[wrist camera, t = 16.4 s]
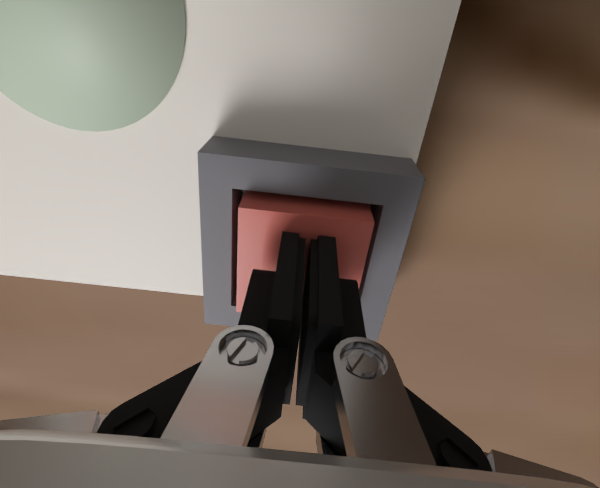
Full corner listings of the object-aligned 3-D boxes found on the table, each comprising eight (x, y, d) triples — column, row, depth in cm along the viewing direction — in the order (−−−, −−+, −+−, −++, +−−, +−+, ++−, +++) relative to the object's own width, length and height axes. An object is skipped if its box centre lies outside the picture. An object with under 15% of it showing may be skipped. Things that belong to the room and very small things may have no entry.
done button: (245, 277, 14) (236, 311, 13) (248, 182, 12) (238, 207, 11) (346, 288, 14) (350, 324, 13) (366, 195, 12) (374, 222, 11)
